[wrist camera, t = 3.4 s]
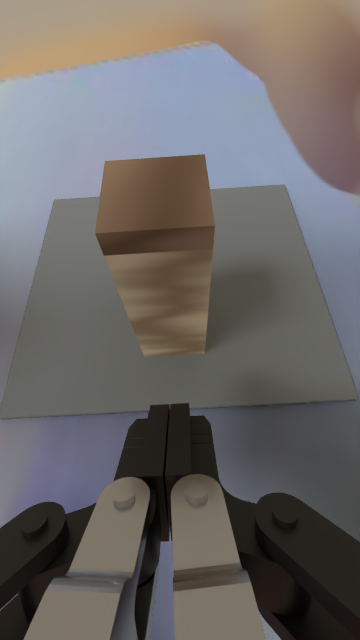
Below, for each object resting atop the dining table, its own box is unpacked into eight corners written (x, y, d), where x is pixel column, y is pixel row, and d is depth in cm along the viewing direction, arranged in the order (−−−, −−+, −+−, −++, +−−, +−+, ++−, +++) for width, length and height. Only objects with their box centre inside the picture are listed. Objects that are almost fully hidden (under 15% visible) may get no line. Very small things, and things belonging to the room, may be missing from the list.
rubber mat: (1, 419, 20) (-3, 418, 19) (55, 203, 30) (54, 199, 30) (356, 400, 19) (358, 398, 19) (283, 187, 30) (284, 184, 30)
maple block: (144, 357, 21) (94, 233, 11) (145, 305, 23) (105, 161, 13) (204, 353, 21) (214, 225, 10) (200, 302, 23) (204, 154, 13)
